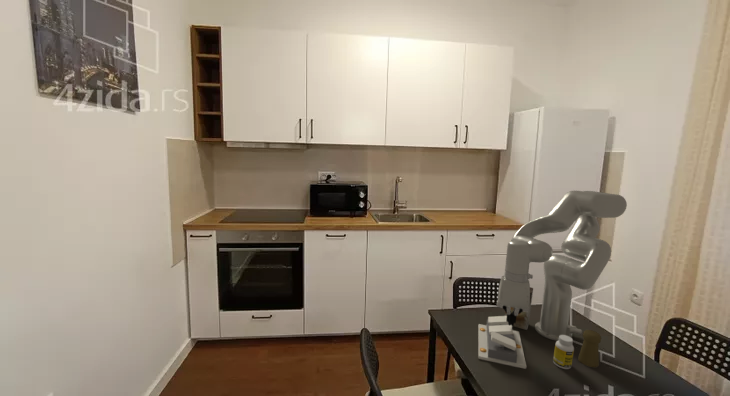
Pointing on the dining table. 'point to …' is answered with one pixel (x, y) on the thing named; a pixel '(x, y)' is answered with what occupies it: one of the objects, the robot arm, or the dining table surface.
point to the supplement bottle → (563, 352)
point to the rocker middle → (501, 329)
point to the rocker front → (503, 340)
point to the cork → (590, 349)
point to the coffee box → (523, 315)
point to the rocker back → (497, 320)
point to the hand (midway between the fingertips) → (510, 323)
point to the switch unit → (500, 348)
